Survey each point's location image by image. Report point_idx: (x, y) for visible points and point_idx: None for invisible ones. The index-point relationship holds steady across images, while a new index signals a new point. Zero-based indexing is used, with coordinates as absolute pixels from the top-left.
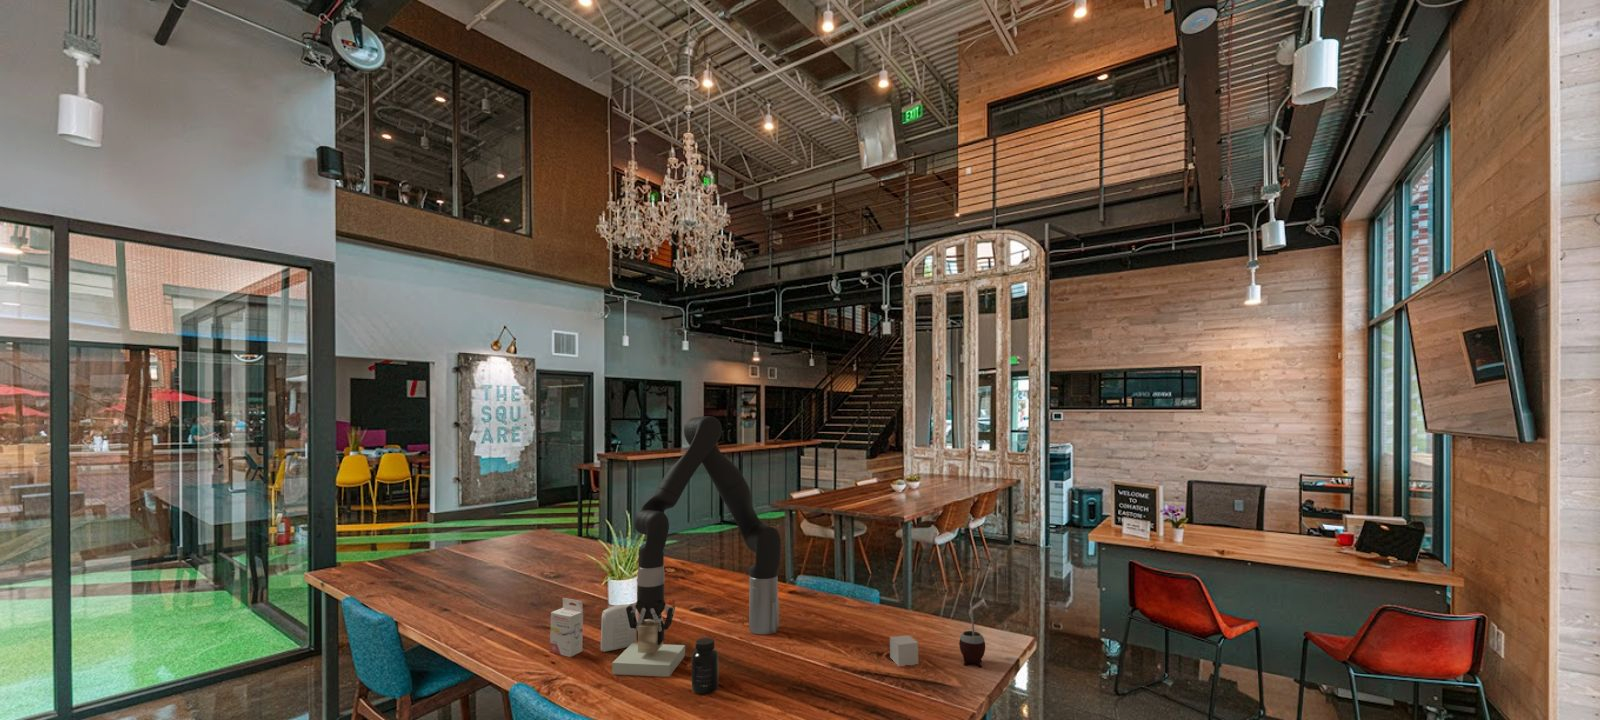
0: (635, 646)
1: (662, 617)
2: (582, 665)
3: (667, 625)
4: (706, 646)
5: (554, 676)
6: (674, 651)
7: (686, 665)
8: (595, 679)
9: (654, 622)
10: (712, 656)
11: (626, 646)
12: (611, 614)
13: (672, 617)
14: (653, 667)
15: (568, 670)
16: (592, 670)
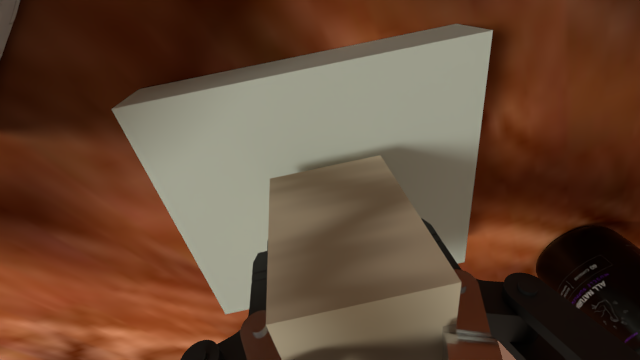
0: (181, 150)
1: (499, 357)
2: (46, 265)
3: (535, 346)
4: None
5: (54, 343)
6: (448, 140)
7: (487, 129)
8: (207, 314)
9: (403, 347)
10: None
11: (12, 21)
12: None
13: (623, 350)
14: None
15: (46, 306)
16: (133, 280)
